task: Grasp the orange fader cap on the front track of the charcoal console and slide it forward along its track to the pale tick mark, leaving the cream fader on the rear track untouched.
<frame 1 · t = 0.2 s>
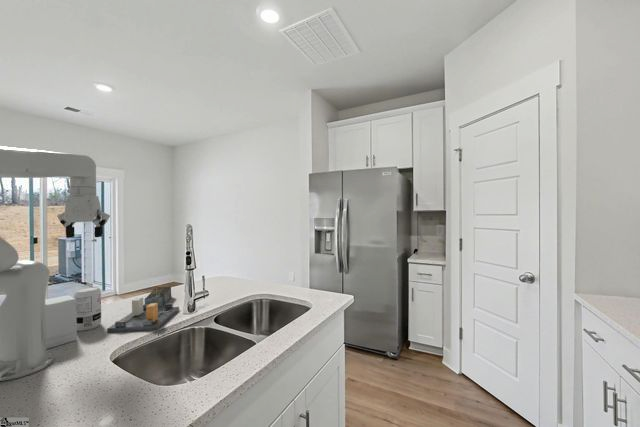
hand: (84, 237, 104), 36 cm above the worktop, tool pointing down, fingers open, 9 cm apart
console: (146, 320, 115), on the worktop
supplement box: (57, 342, 96), on the worktop
orange fader: (152, 312, 109), point 5 cm above the worktop, slide at 0.0 cm
cream fader: (137, 306, 117), point 5 cm above the worktop, slide at 9.0 cm
supplement can: (88, 327, 109), on the worktop
beverage carton: (159, 304, 136), on the worktop
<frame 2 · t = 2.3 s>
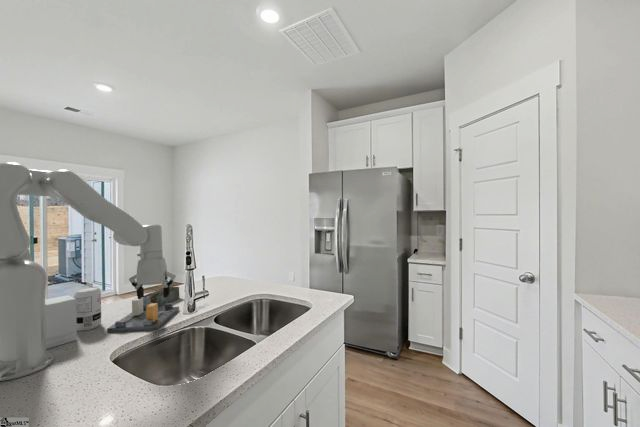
hand: (153, 297, 110), 11 cm above the worktop, tool pointing down, fingers open, 9 cm apart
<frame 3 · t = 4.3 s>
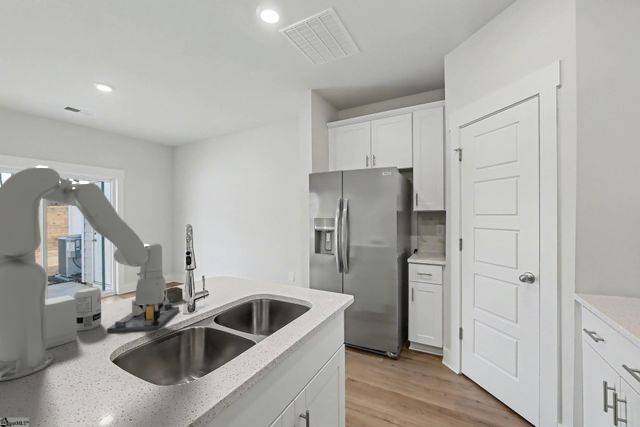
hand: (152, 319, 109), 2 cm above the worktop, tool pointing down, fingers closed on orange fader, 2 cm apart
orange fader: (152, 312, 109), point 5 cm above the worktop, slide at 0.0 cm, touching gripper
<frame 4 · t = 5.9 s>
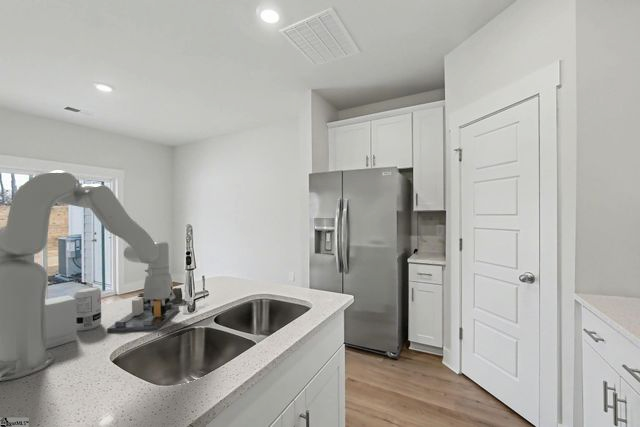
hand: (159, 314, 115), 2 cm above the worktop, tool pointing down, fingers closed on orange fader, 2 cm apart
orange fader: (159, 307, 115), point 5 cm above the worktop, slide at 6.1 cm, touching gripper
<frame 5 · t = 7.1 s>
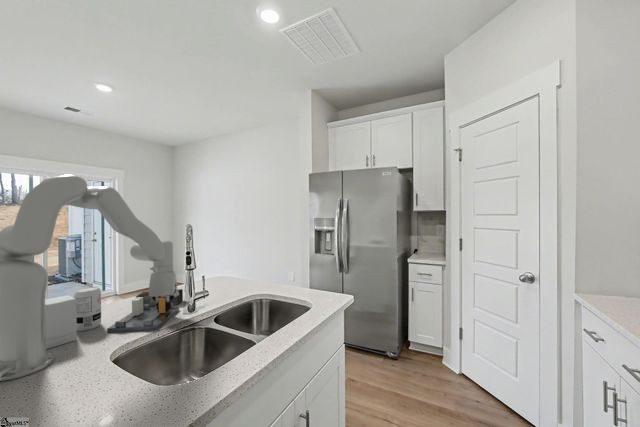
hand: (163, 310, 120), 2 cm above the worktop, tool pointing down, fingers closed on orange fader, 2 cm apart
orange fader: (163, 303, 120), point 5 cm above the worktop, slide at 10.4 cm, touching gripper
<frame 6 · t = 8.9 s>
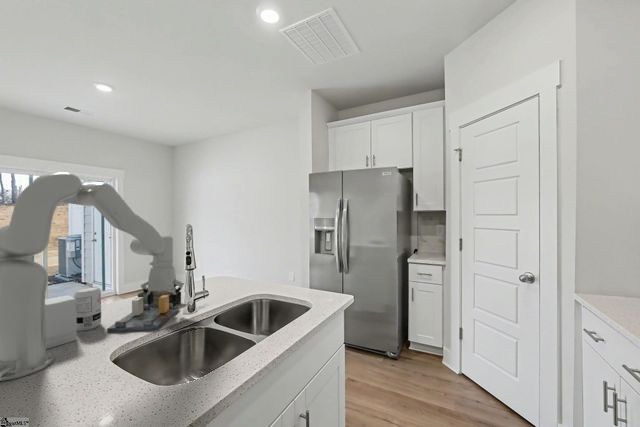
hand: (162, 303, 119), 6 cm above the worktop, tool pointing down, fingers open, 9 cm apart
orange fader: (163, 303, 120), point 5 cm above the worktop, slide at 10.5 cm
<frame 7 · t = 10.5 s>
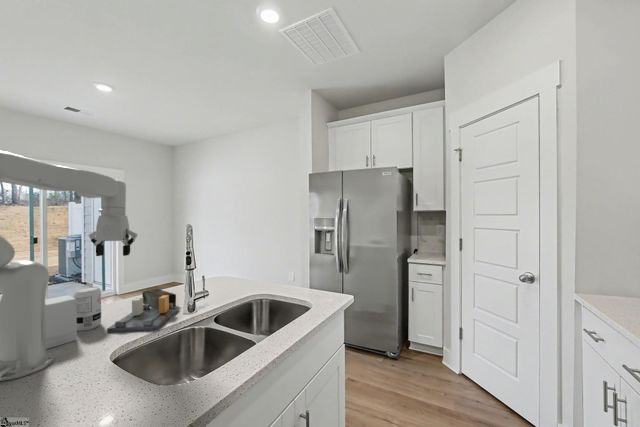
hand: (113, 255, 107), 29 cm above the worktop, tool pointing down, fingers open, 9 cm apart
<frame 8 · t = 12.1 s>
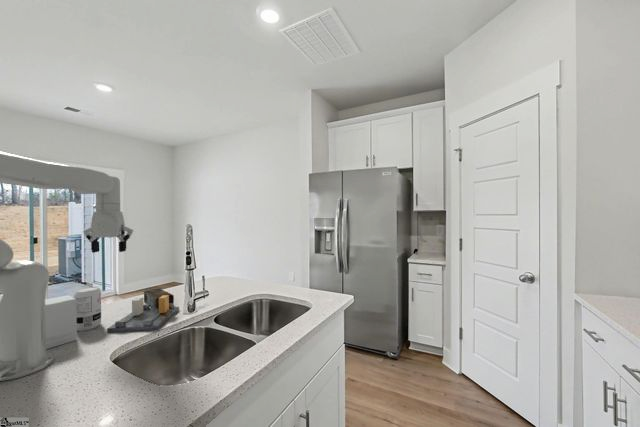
hand: (109, 251, 106), 30 cm above the worktop, tool pointing down, fingers open, 9 cm apart
at the end: orange fader slide at 10.5 cm; the gripper is holding nothing; cream fader slide at 9.0 cm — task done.
